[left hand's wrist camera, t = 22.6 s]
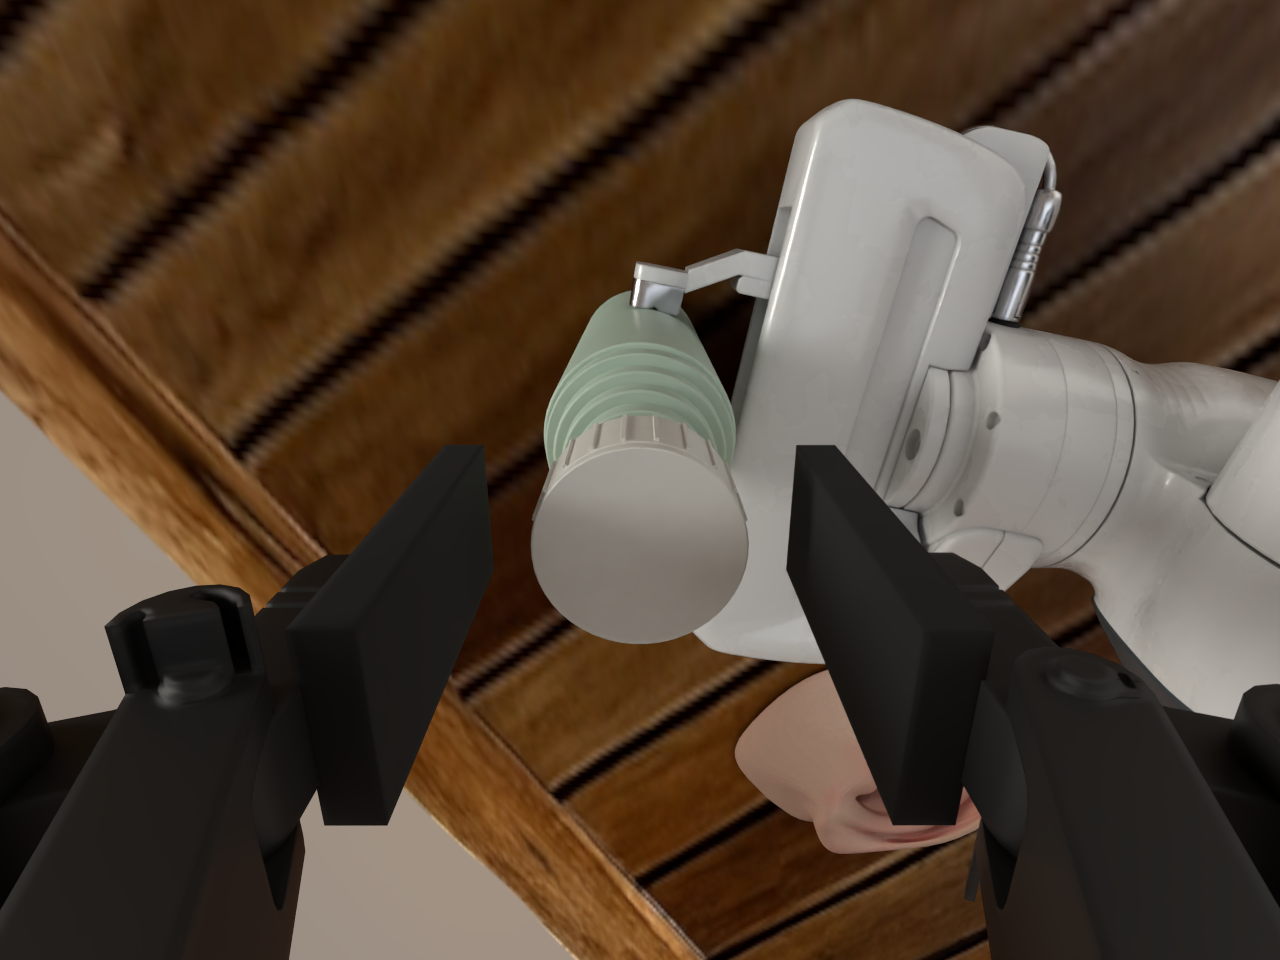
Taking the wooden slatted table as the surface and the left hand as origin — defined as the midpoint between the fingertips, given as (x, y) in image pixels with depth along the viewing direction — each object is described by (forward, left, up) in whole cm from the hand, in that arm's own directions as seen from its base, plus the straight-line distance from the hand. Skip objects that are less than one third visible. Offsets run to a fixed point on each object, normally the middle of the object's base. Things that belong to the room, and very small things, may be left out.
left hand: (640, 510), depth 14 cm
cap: (0, 0, +2) cm, 2 cm away
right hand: (+1, -1, -13) cm, 13 cm away
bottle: (0, 0, -19) cm, 19 cm away
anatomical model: (+5, +25, -19) cm, 32 cm away
